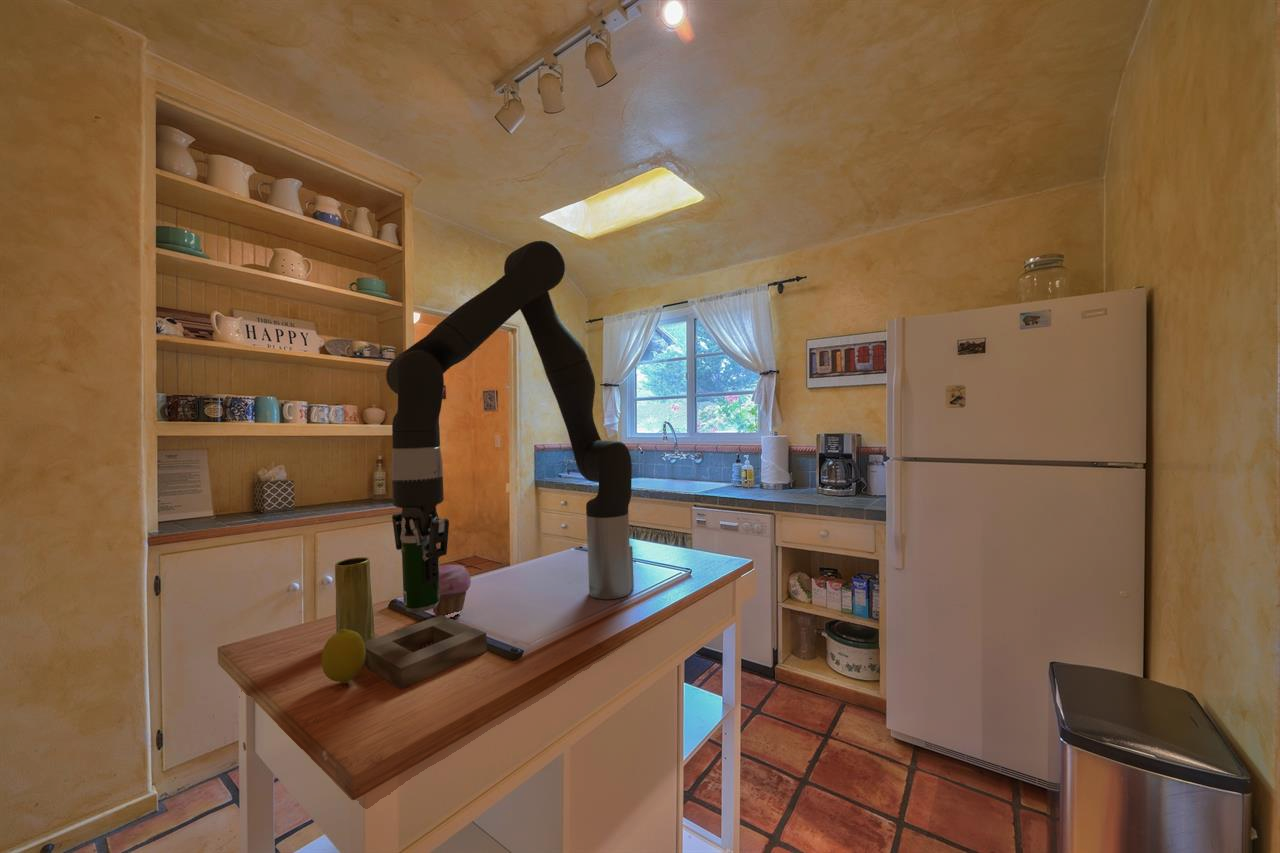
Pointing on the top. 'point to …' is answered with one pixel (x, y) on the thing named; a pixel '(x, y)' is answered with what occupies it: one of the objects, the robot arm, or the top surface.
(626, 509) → the robot arm
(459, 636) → the can holder block
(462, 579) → the cupcake
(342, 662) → the lemon
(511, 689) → the top surface
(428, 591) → the beer can
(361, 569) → the vase
